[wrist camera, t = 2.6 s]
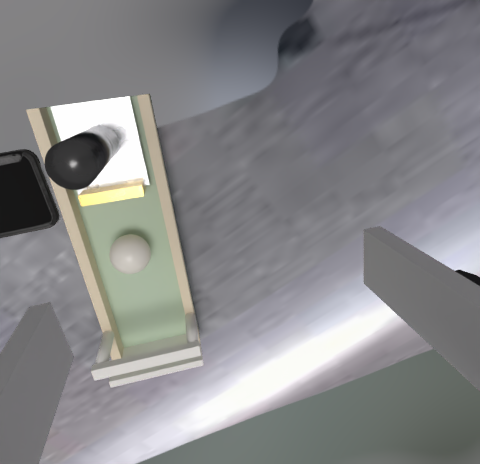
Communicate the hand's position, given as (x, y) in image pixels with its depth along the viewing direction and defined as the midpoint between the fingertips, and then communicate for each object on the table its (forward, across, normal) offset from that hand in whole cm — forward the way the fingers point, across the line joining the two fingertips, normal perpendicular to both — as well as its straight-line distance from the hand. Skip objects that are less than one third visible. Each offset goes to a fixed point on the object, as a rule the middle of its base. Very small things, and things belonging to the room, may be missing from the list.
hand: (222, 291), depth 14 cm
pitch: (+24, -7, -6) cm, 26 cm away
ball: (+23, -7, -6) cm, 25 cm away
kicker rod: (+23, -7, +4) cm, 24 cm away
